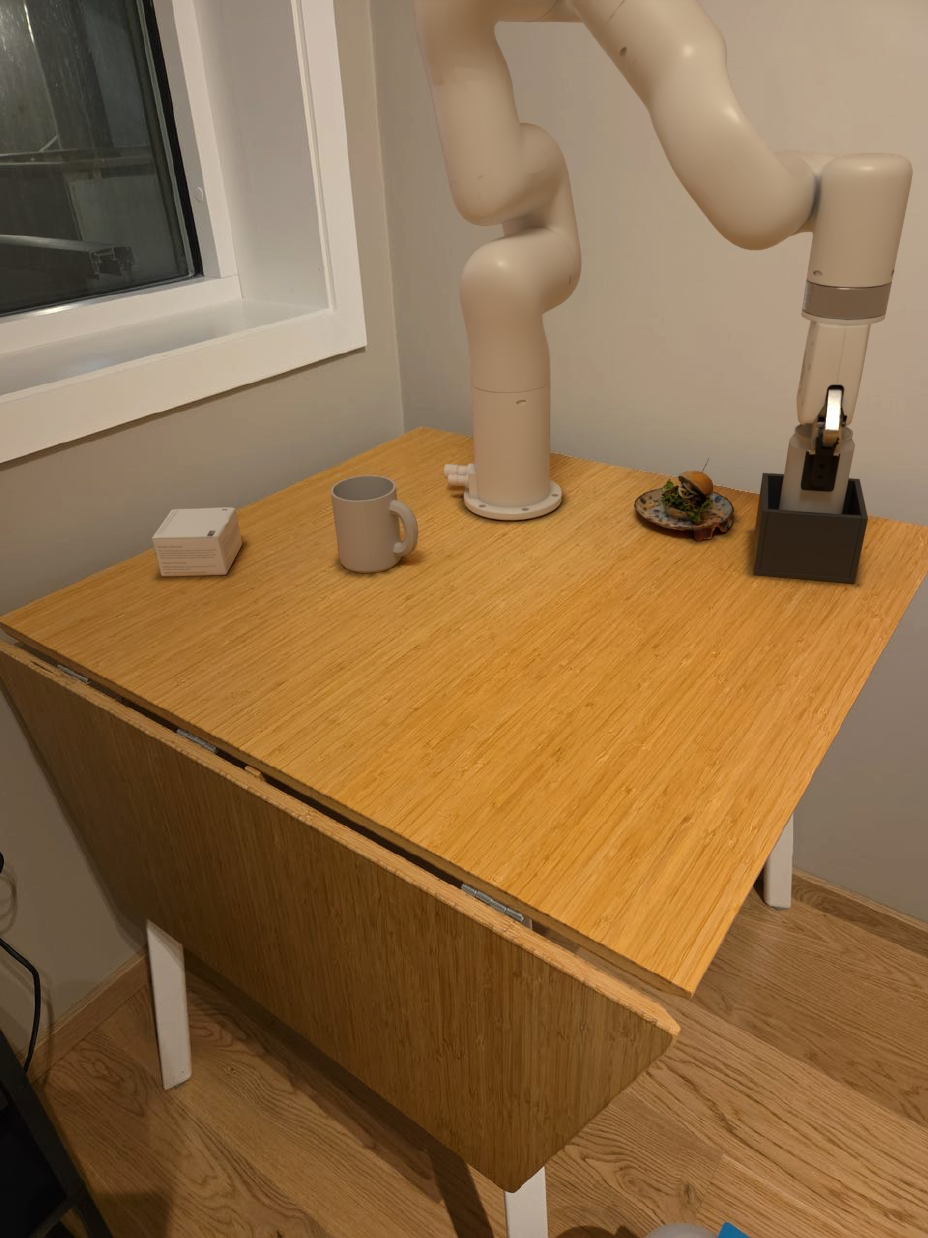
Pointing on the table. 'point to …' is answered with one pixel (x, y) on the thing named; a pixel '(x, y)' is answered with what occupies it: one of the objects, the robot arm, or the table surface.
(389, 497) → the cup
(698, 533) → the burger on plate
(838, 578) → the bin
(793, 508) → the beverage can
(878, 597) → the table surface
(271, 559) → the table surface
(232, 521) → the small box
